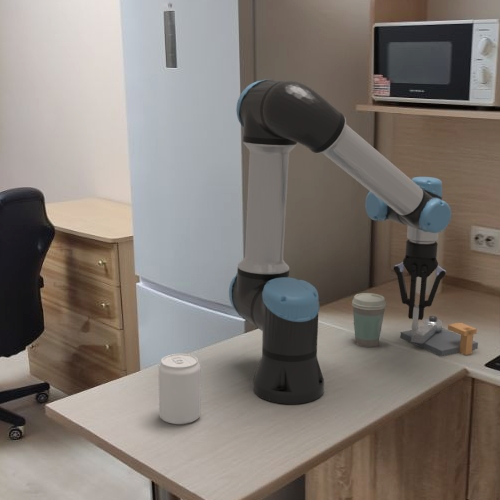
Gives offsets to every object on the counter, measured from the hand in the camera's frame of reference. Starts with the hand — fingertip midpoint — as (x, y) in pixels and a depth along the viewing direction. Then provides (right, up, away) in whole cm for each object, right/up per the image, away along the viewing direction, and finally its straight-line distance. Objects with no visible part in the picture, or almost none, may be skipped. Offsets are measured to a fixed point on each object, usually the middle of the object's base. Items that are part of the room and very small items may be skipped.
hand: (414, 330), depth 194 cm
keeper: (+10, -4, -5) cm, 12 cm away
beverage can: (-56, -13, -43) cm, 71 cm away
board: (+6, -3, 0) cm, 7 cm away
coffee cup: (-12, -3, -1) cm, 13 cm away
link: (+3, -1, +1) cm, 3 cm away
